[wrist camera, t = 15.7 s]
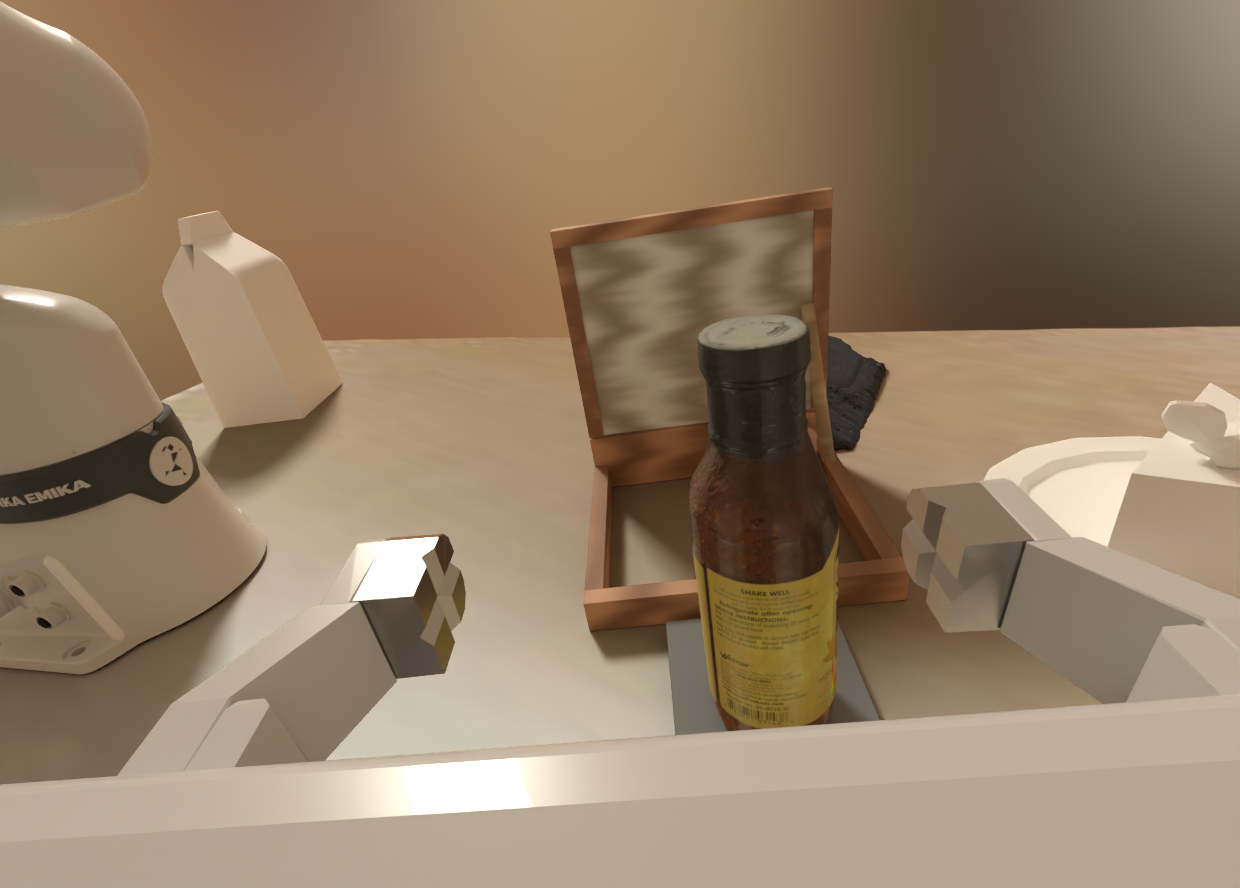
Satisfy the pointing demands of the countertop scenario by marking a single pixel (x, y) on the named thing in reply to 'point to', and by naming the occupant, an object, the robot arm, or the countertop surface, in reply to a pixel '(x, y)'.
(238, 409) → the milk
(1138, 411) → the countertop surface
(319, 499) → the countertop surface
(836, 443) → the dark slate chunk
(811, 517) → the sauce bottle
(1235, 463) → the dish
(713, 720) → the slate tile
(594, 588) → the cedar box
